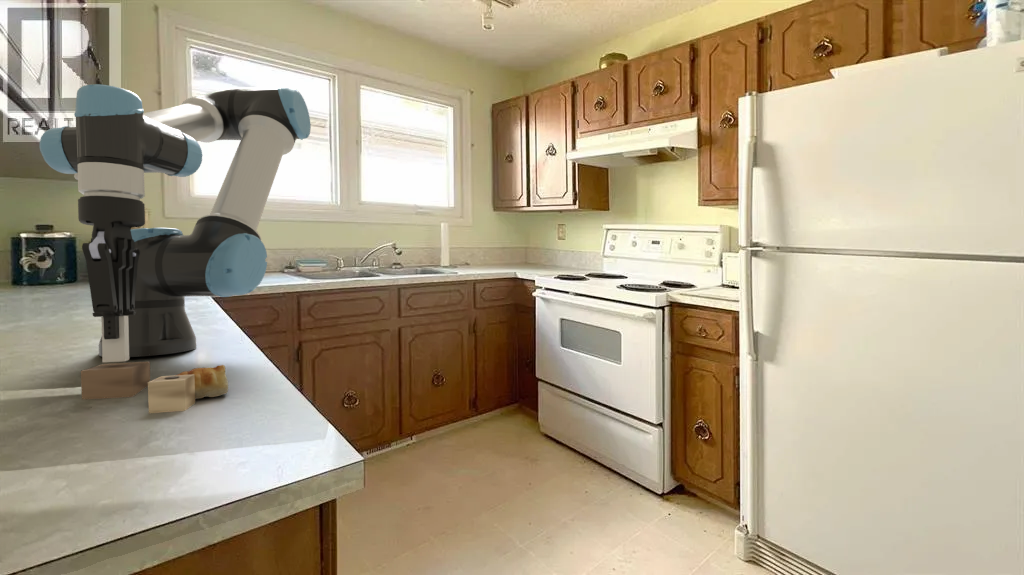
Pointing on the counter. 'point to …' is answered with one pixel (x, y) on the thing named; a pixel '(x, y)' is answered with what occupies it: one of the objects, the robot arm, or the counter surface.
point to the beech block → (171, 393)
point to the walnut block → (115, 380)
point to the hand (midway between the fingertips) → (116, 360)
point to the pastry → (209, 381)
